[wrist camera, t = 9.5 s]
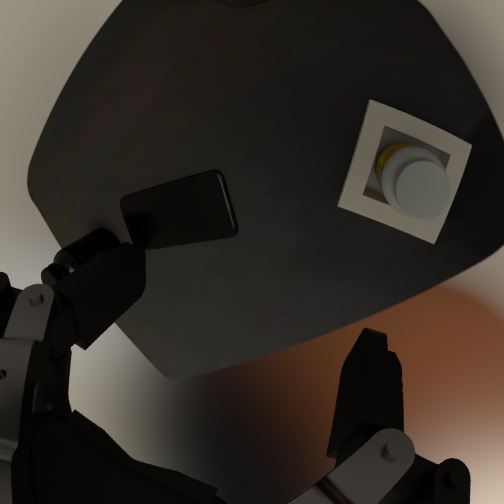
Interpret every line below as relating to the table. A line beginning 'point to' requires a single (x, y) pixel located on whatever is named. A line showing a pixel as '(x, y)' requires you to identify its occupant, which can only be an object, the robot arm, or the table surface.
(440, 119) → the table surface
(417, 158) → the supplement bottle
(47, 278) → the supplement bottle
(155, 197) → the smartphone
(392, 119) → the socket plate
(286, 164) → the table surface
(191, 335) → the table surface
